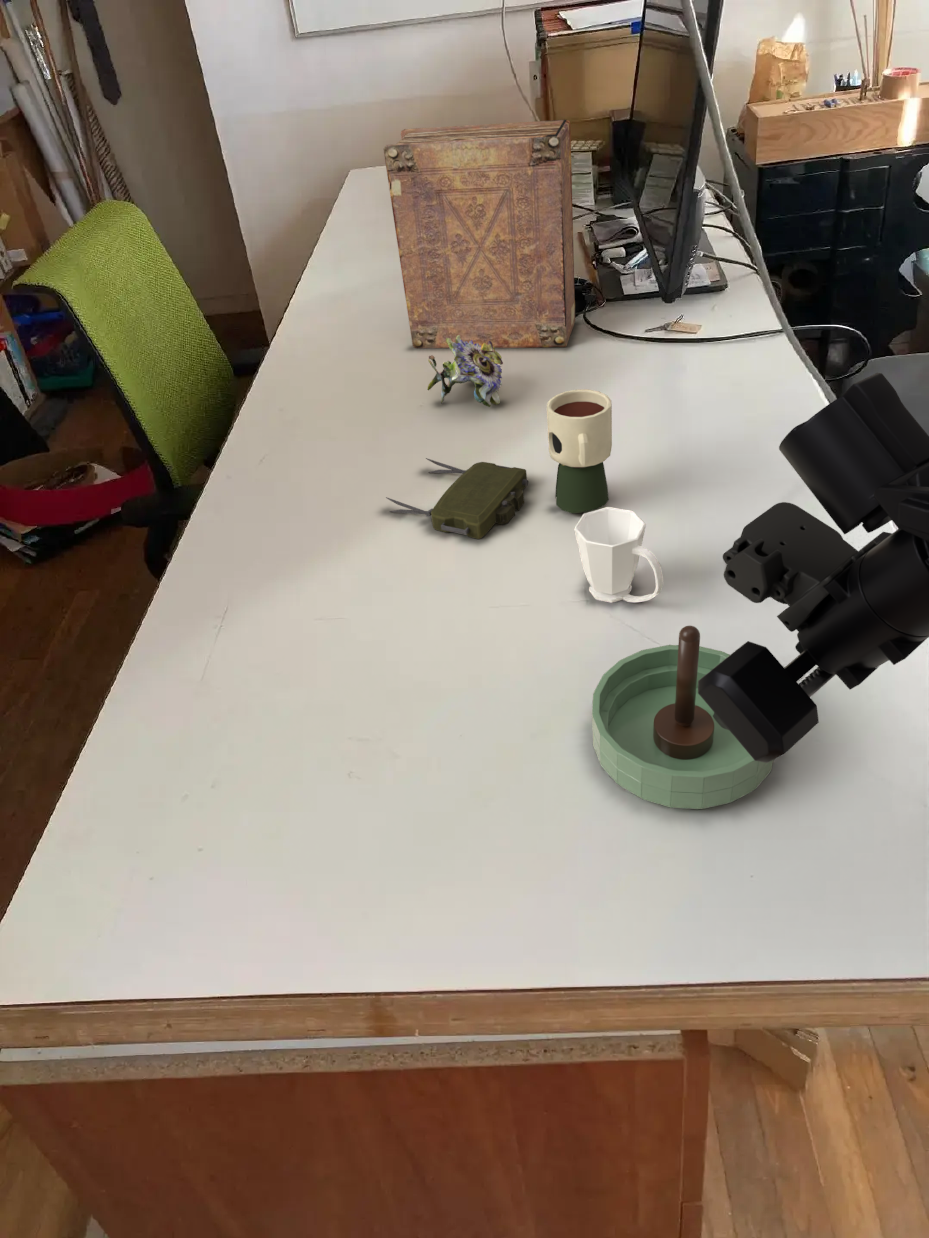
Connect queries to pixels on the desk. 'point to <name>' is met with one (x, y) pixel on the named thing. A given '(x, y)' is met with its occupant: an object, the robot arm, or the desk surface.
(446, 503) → the landmine
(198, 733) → the desk surface
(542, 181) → the book
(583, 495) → the character mug
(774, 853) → the desk surface
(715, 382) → the desk surface
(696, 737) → the knob-topped peg stand
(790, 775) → the desk surface
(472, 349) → the passion flower
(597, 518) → the cup
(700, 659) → the bowl
